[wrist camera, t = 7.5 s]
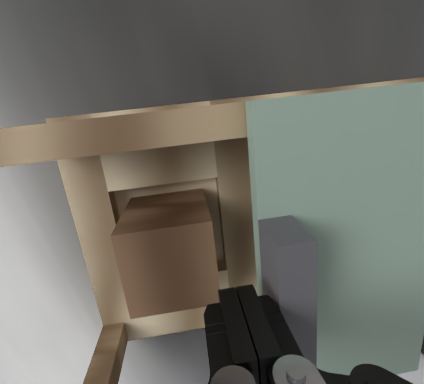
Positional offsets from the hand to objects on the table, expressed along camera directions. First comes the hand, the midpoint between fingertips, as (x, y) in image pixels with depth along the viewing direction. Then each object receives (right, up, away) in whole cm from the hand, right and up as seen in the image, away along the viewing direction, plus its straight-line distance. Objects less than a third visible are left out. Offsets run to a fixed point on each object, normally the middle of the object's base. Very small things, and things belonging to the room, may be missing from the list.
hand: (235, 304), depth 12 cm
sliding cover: (+6, +2, +3) cm, 6 cm away
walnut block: (-4, +2, +8) cm, 9 cm away
